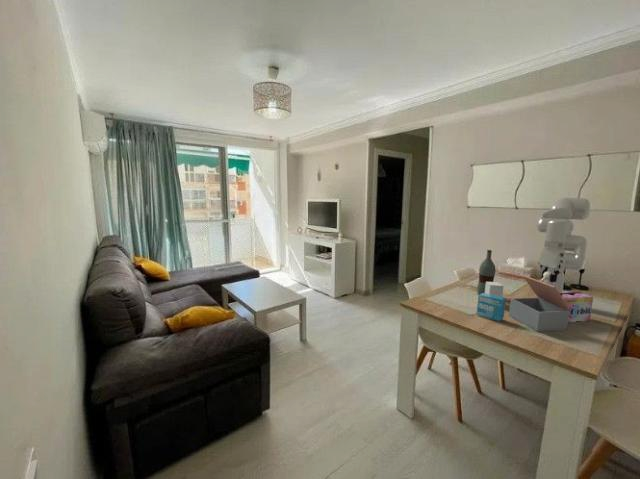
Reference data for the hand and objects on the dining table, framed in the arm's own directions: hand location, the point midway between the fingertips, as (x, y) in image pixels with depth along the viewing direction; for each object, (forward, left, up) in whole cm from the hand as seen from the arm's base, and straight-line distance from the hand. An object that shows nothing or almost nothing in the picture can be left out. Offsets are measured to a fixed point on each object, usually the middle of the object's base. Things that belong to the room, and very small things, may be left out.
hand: (548, 280), depth 144 cm
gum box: (-16, -3, -23) cm, 28 cm away
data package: (+23, -8, -23) cm, 34 cm away
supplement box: (+8, -26, -23) cm, 36 cm away
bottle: (+3, -40, -23) cm, 46 cm away
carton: (+3, 0, -23) cm, 23 cm away
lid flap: (+1, 0, -7) cm, 7 cm away
